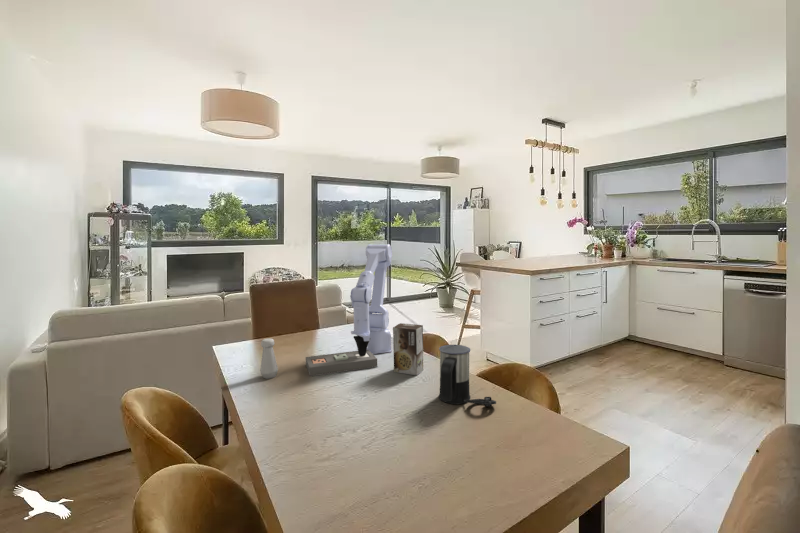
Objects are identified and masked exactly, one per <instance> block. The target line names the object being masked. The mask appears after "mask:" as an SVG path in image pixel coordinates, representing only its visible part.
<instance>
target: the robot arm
mask: <svg viewBox="0 0 800 533" xmlns="http://www.w3.org/2000/svg"><path fill="white" fill-rule="evenodd" d="M365 256H366V263H365V264H366V265H365V268H364V271H362V272H361V273H360V274H359V277H358V280H357V282H356V286H354V287H353V288H352V289H351V290H350V295H349V296H350V302H351V307H352V308H353V330H351V331H350V334H351V335H354V336H353V339H354V341H355V344H356V347H357V351H358V353H359V355H360V356H365V355H366V350H369V351H370V352H371V353H372V354H373V355H375V354H384V353H391V352H392V351H393V350H392V334H391V330H390V329H389V328H388V327H389V323H390V318H389V316H390V315H389V310H388V309H387V308H386V307H385V306H384V297H385V288H386V279H387V278H386V277H387V270H388V267H389V266H391V263H392V258H393V250H392V246H391V244H389V243H387V244H386V243H385V244H380V243H379V244H370V243H369V244H367V246H366V247H365Z"/></svg>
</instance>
